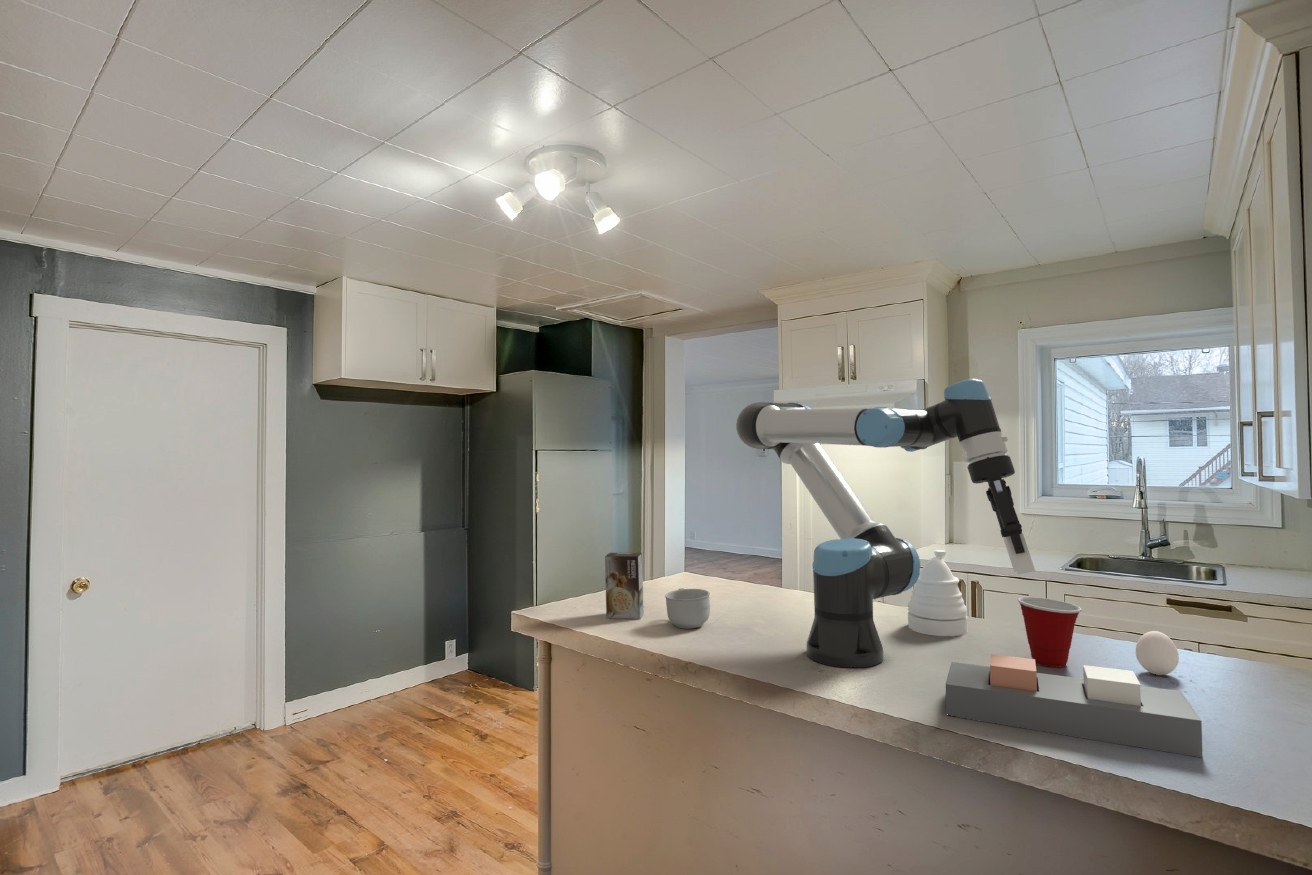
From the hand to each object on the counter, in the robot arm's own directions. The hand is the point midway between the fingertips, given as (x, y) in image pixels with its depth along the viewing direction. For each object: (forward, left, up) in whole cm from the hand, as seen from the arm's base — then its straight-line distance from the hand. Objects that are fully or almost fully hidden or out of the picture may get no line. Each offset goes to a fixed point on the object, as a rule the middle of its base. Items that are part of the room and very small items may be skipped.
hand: (1024, 571), depth 118 cm
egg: (+21, +15, -20) cm, 33 cm away
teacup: (-73, +10, -20) cm, 76 cm away
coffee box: (-91, +10, -20) cm, 93 cm away
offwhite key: (+11, -16, -16) cm, 25 cm away
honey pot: (-18, +31, -20) cm, 41 cm away
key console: (+4, -16, -20) cm, 26 cm away
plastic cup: (+4, +14, -20) cm, 25 cm away
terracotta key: (-2, -16, -16) cm, 23 cm away
